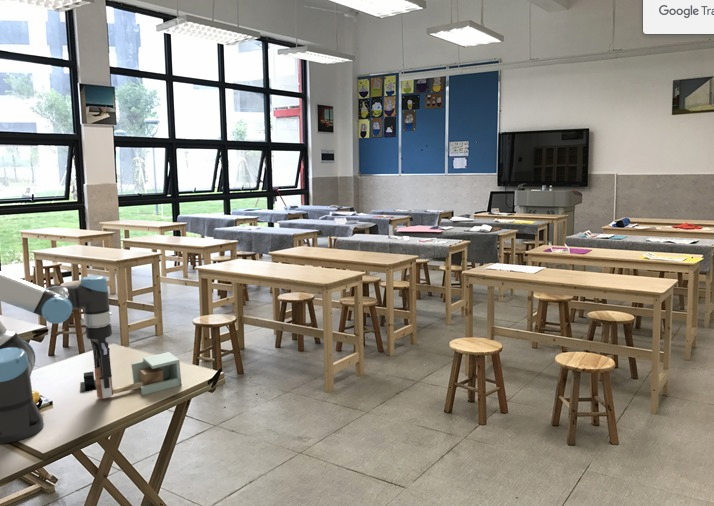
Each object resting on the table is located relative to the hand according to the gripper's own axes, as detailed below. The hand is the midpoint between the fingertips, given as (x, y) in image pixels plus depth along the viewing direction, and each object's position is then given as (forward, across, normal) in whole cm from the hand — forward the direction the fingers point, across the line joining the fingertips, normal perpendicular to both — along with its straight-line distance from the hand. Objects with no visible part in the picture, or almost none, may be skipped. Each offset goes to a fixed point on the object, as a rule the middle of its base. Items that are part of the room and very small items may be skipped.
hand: (105, 394), depth 194 cm
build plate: (+2, +16, +2) cm, 16 cm away
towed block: (0, 0, -8) cm, 8 cm away
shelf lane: (+1, 0, -17) cm, 17 cm away
